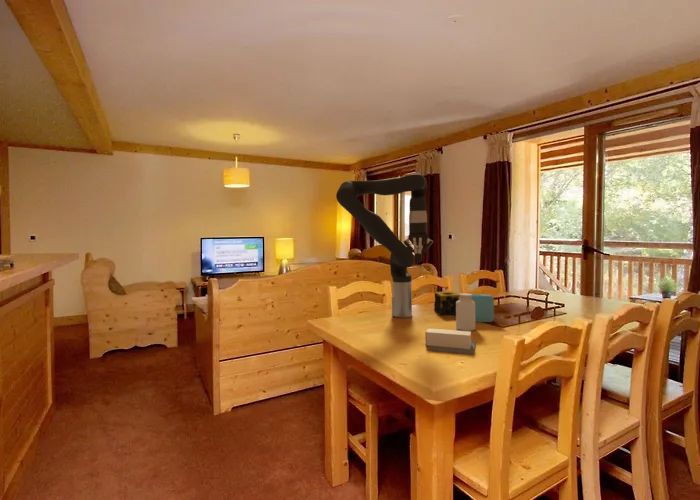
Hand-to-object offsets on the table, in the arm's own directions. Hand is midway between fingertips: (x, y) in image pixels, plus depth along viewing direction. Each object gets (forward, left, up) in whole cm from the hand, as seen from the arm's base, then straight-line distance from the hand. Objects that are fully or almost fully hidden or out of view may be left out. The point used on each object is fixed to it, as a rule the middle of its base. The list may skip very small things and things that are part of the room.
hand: (418, 262), depth 165 cm
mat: (+16, -20, -29) cm, 39 cm away
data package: (+24, +20, -29) cm, 43 cm away
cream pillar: (+6, -20, -26) cm, 34 cm away
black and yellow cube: (+8, +32, -29) cm, 44 cm away
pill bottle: (+19, +5, -29) cm, 35 cm away
